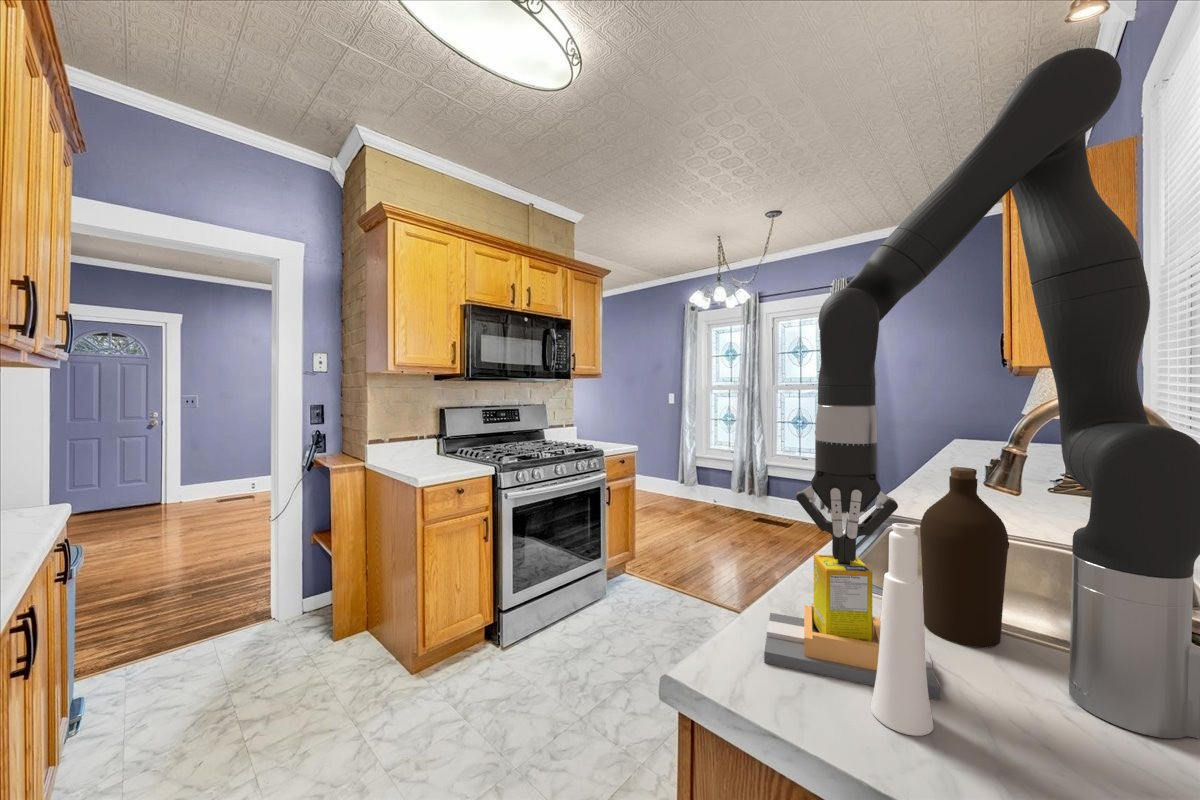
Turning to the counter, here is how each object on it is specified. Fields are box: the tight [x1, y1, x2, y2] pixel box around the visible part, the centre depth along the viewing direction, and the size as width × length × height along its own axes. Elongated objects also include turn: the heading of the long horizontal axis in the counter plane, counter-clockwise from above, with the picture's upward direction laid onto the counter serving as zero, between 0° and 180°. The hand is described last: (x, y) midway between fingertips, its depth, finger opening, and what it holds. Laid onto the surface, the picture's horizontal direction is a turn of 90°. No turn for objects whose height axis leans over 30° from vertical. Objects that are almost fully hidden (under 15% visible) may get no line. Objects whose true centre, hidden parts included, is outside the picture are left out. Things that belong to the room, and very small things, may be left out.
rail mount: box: [763, 603, 942, 701], centre depth 66 cm, size 20×12×4 cm, turn 67°
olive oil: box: [919, 466, 1010, 649], centre depth 72 cm, size 11×11×25 cm
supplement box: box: [813, 553, 873, 642], centre depth 66 cm, size 6×6×11 cm
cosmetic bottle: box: [870, 522, 934, 737], centre depth 54 cm, size 6×6×22 cm
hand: (843, 562), depth 66 cm, fingers closed
